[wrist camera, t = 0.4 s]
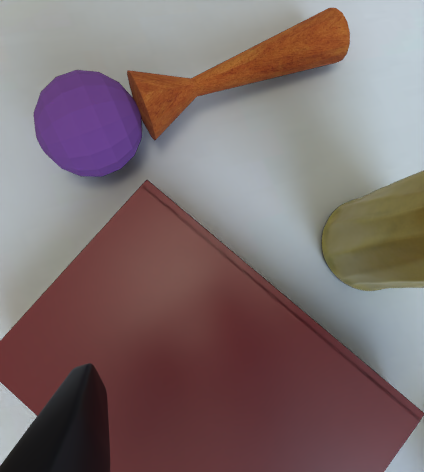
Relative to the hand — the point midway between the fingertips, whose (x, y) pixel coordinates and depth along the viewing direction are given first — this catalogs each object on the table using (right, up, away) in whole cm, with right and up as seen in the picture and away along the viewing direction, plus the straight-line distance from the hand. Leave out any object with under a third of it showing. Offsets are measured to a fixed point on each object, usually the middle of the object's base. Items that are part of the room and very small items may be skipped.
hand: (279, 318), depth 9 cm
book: (-2, -7, +14) cm, 16 cm away
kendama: (-3, +11, +16) cm, 20 cm away
